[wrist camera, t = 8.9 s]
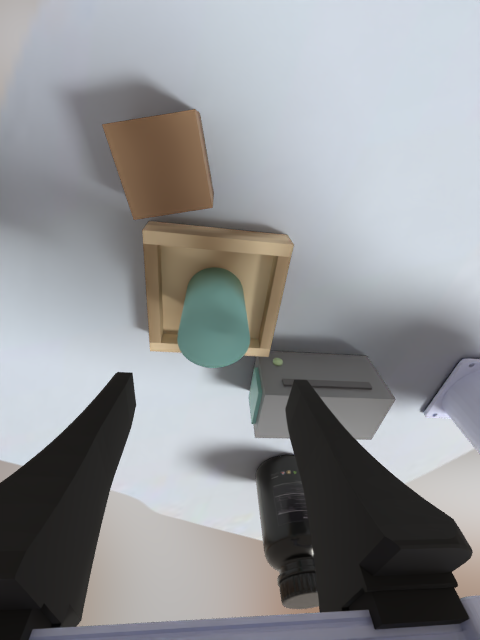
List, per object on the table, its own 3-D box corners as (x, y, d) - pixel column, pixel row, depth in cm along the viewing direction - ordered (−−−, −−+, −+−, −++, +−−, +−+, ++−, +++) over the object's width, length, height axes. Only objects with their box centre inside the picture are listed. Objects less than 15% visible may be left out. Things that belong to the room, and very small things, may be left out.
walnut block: (199, 113, 15) (194, 109, 12) (213, 192, 18) (212, 207, 14) (126, 125, 16) (102, 124, 12) (149, 202, 18) (133, 220, 14)
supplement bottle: (306, 481, 38) (339, 609, 28) (254, 485, 37) (267, 616, 27) (313, 451, 34) (354, 586, 24) (255, 454, 33) (271, 593, 23)
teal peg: (246, 270, 20) (255, 312, 15) (239, 318, 22) (245, 369, 17) (187, 264, 19) (177, 307, 15) (186, 315, 21) (177, 366, 17)
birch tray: (287, 234, 19) (293, 244, 18) (265, 341, 24) (268, 356, 23) (149, 220, 18) (142, 230, 17) (155, 334, 23) (150, 351, 21)
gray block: (367, 354, 26) (396, 397, 22) (349, 394, 29) (371, 439, 24) (254, 348, 25) (261, 392, 20) (246, 390, 27) (251, 437, 23)
